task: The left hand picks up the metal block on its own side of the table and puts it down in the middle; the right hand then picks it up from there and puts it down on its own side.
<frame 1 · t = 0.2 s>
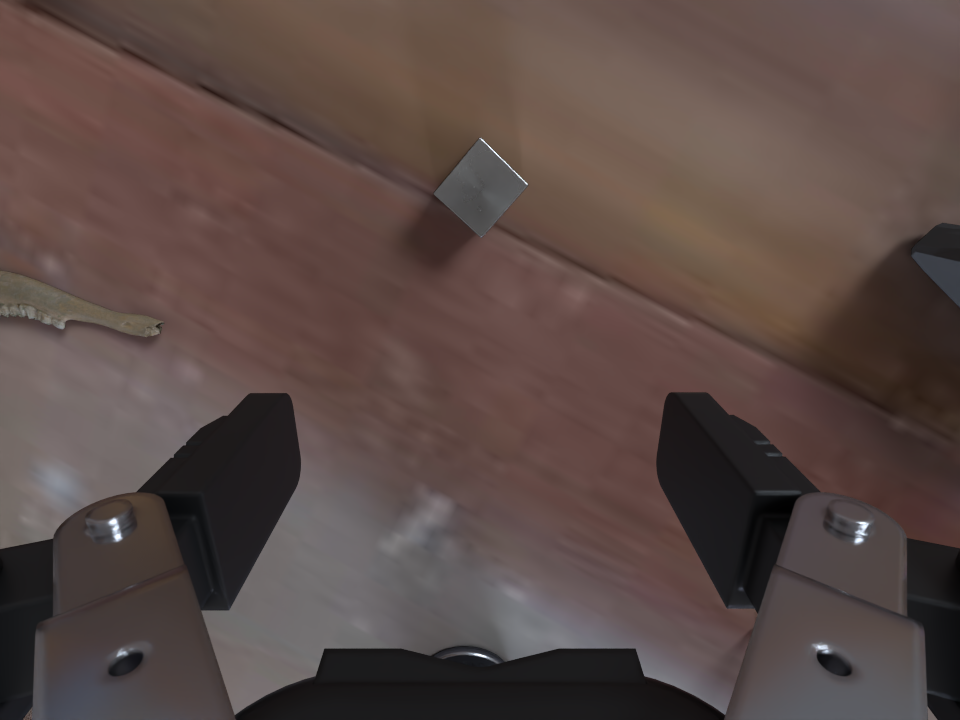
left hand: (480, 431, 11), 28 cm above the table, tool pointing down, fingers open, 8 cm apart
jawbone: (43, 346, 41), on the table
block: (480, 185, 36), on the table
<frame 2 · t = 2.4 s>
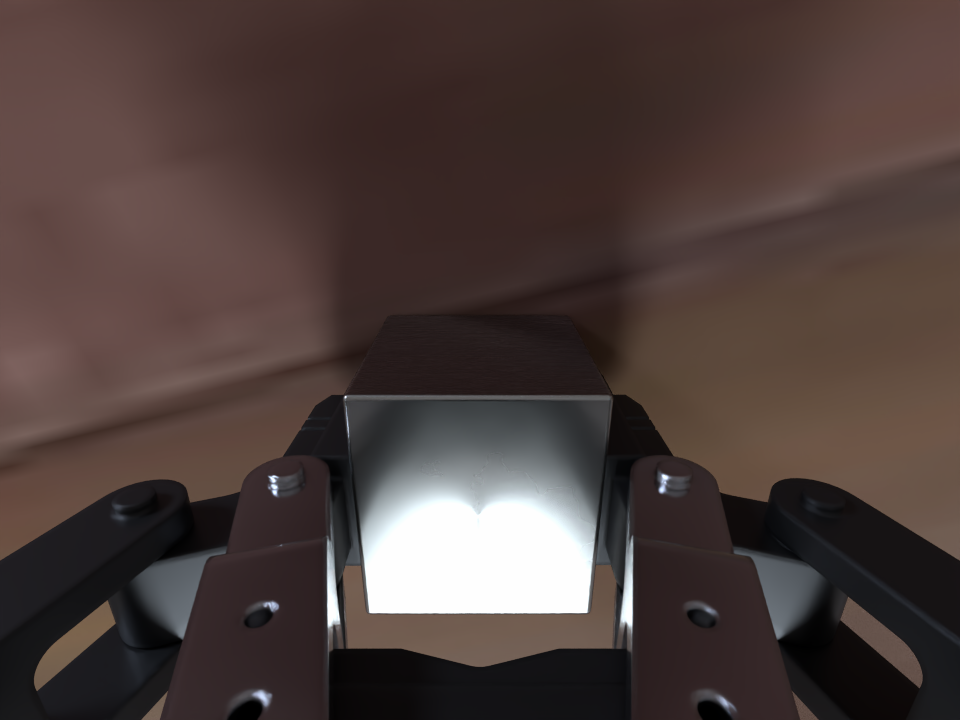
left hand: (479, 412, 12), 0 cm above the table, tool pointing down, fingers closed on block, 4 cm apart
block: (478, 403, 12), on the table, touching left hand
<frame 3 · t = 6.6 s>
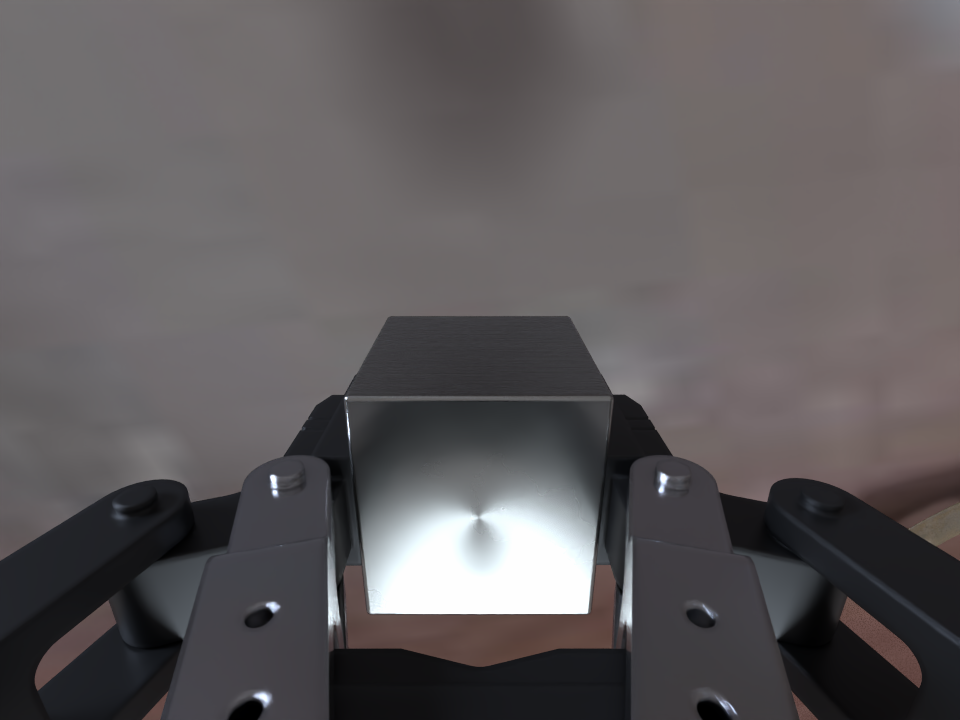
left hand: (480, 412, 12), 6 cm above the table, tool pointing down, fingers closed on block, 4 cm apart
block: (479, 403, 12), point 5 cm above the table, touching left hand
when the left hand's fingers open (1 cm above the table, at t = 11.2 s): block stays where it is, on the table.
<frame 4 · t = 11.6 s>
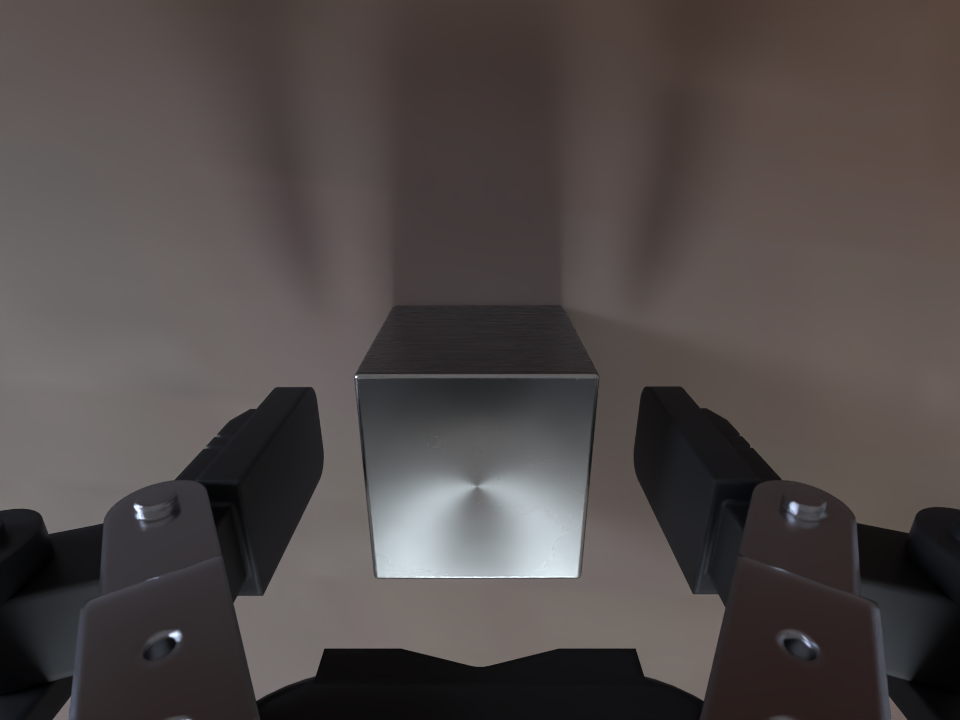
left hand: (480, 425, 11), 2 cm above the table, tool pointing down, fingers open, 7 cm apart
block: (478, 388, 13), on the table
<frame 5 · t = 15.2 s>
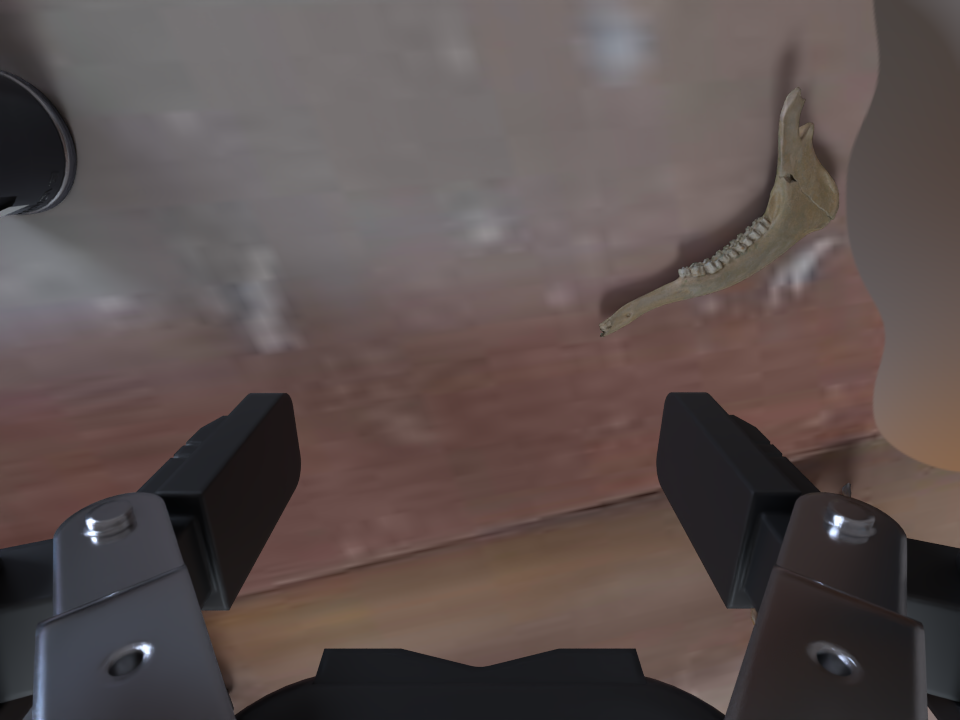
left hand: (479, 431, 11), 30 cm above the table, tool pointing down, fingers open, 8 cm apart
jawbone: (692, 222, 39), on the table
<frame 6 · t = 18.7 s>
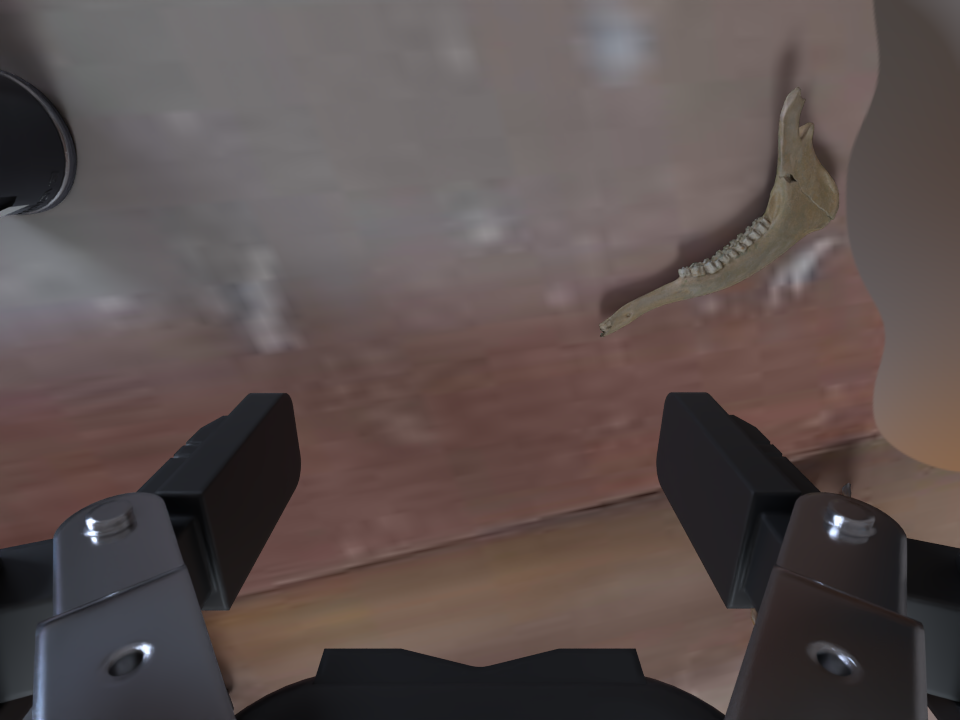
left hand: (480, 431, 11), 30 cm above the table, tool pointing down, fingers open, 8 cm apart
jawbone: (692, 222, 39), on the table
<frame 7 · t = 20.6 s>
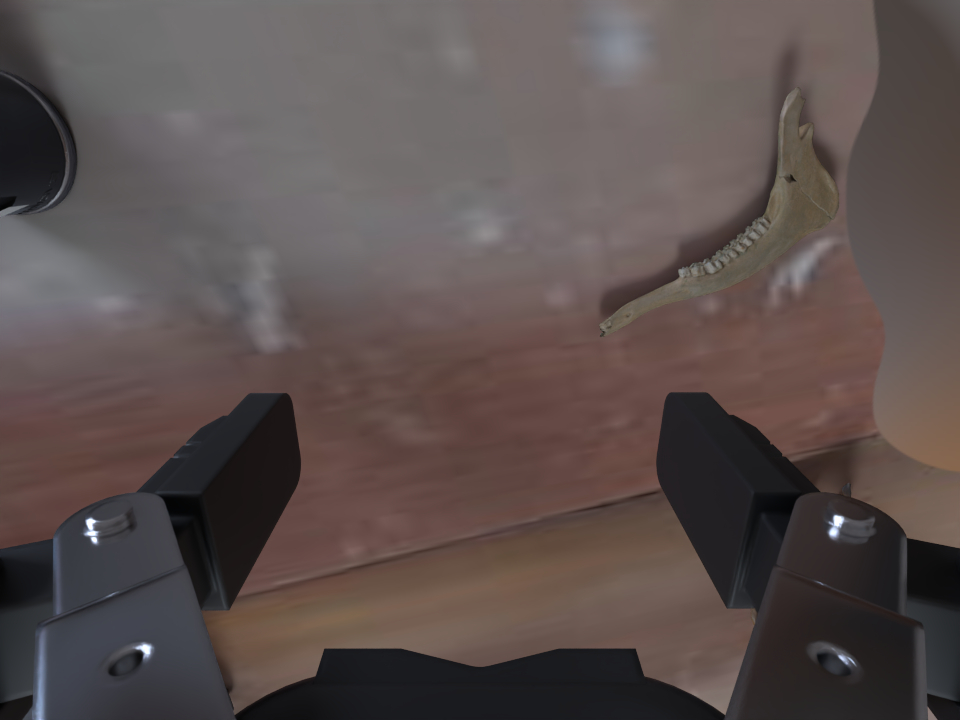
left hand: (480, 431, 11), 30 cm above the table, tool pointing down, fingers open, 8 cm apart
jawbone: (692, 222, 39), on the table
when the right hand's fingers open (0 cm above the table, at t = 22.8 s): block stays where it is, on the table.
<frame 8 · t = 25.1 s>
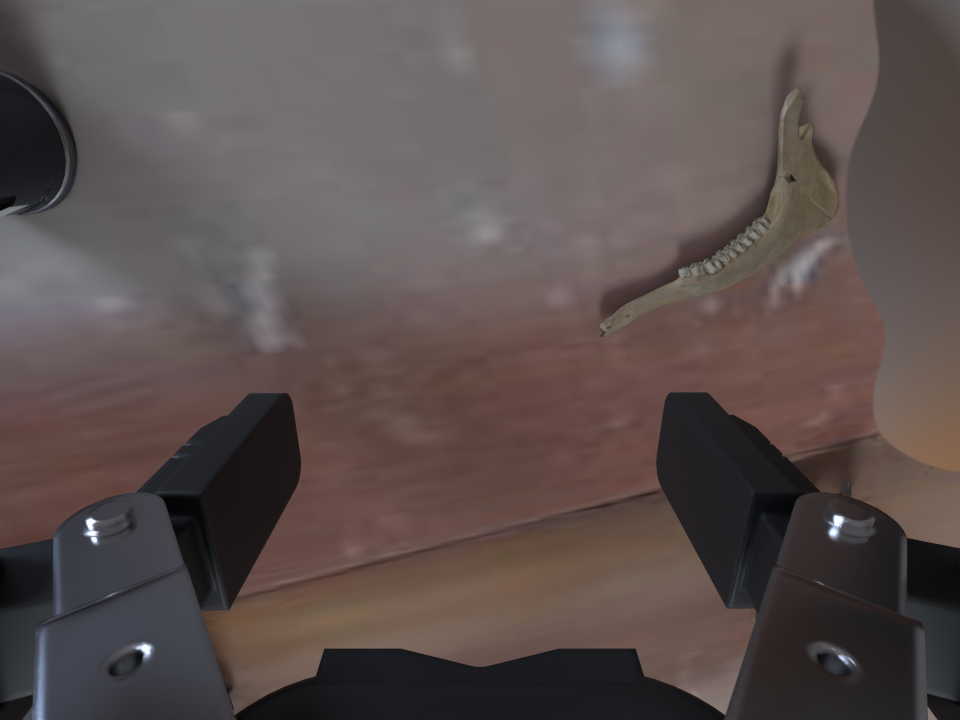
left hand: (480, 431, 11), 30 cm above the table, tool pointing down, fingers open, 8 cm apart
jawbone: (692, 222, 39), on the table
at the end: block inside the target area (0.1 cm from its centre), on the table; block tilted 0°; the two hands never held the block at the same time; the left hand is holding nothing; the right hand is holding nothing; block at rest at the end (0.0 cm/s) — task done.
